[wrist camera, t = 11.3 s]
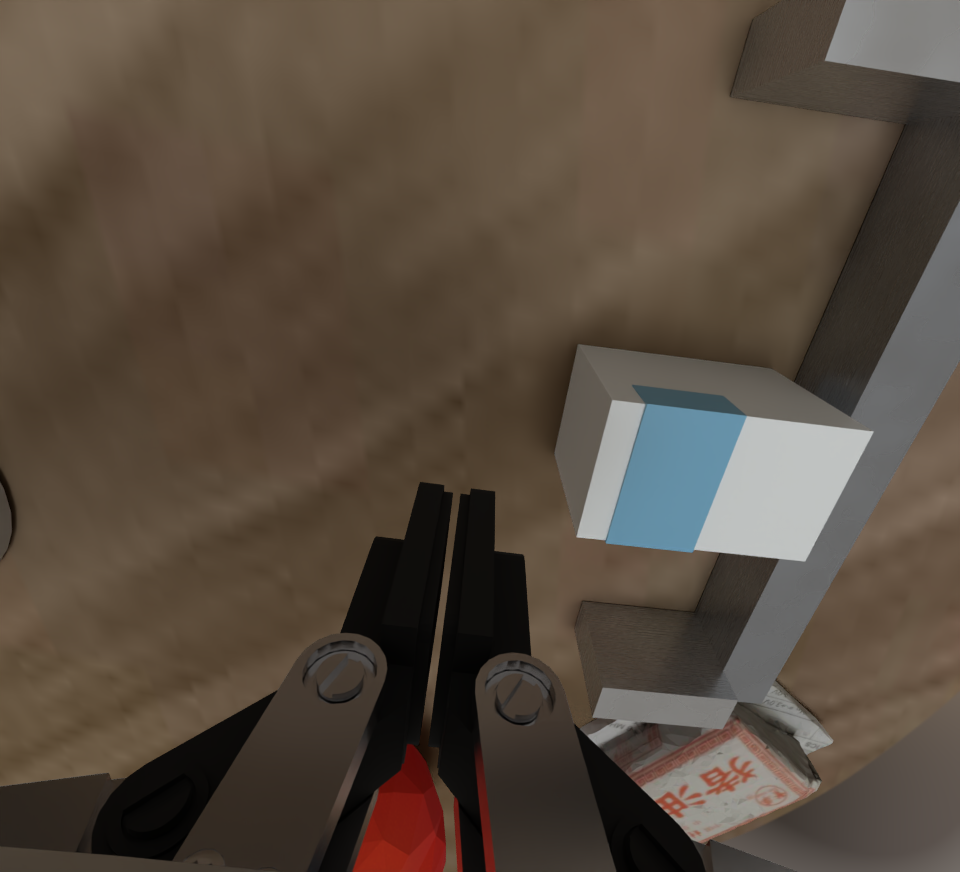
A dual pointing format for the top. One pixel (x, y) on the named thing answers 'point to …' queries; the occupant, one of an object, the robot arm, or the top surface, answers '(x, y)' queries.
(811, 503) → the block
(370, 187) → the top surface
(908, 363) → the rail
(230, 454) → the top surface
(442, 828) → the tomato
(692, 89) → the top surface
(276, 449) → the top surface
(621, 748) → the packaged product
